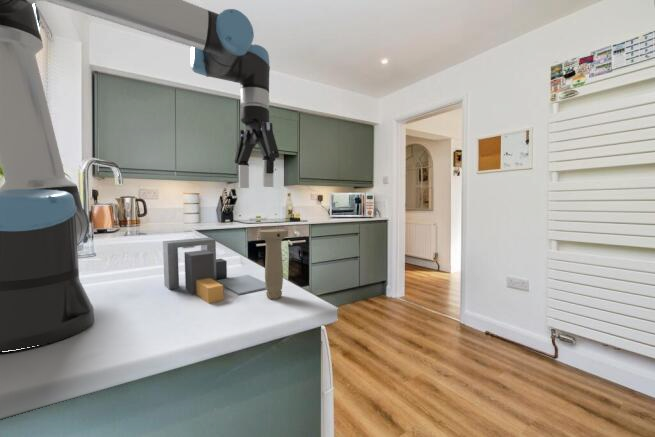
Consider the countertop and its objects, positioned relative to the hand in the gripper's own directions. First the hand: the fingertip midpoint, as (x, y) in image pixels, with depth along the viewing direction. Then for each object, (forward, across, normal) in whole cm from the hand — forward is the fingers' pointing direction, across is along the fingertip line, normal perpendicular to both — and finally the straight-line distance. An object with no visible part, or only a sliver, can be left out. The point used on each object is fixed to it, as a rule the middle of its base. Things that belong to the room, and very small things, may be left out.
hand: (255, 187), depth 82 cm
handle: (+25, -18, +5) cm, 31 cm away
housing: (+25, +6, +14) cm, 29 cm away
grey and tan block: (+25, -5, +16) cm, 30 cm away
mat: (+25, -5, +6) cm, 26 cm away
